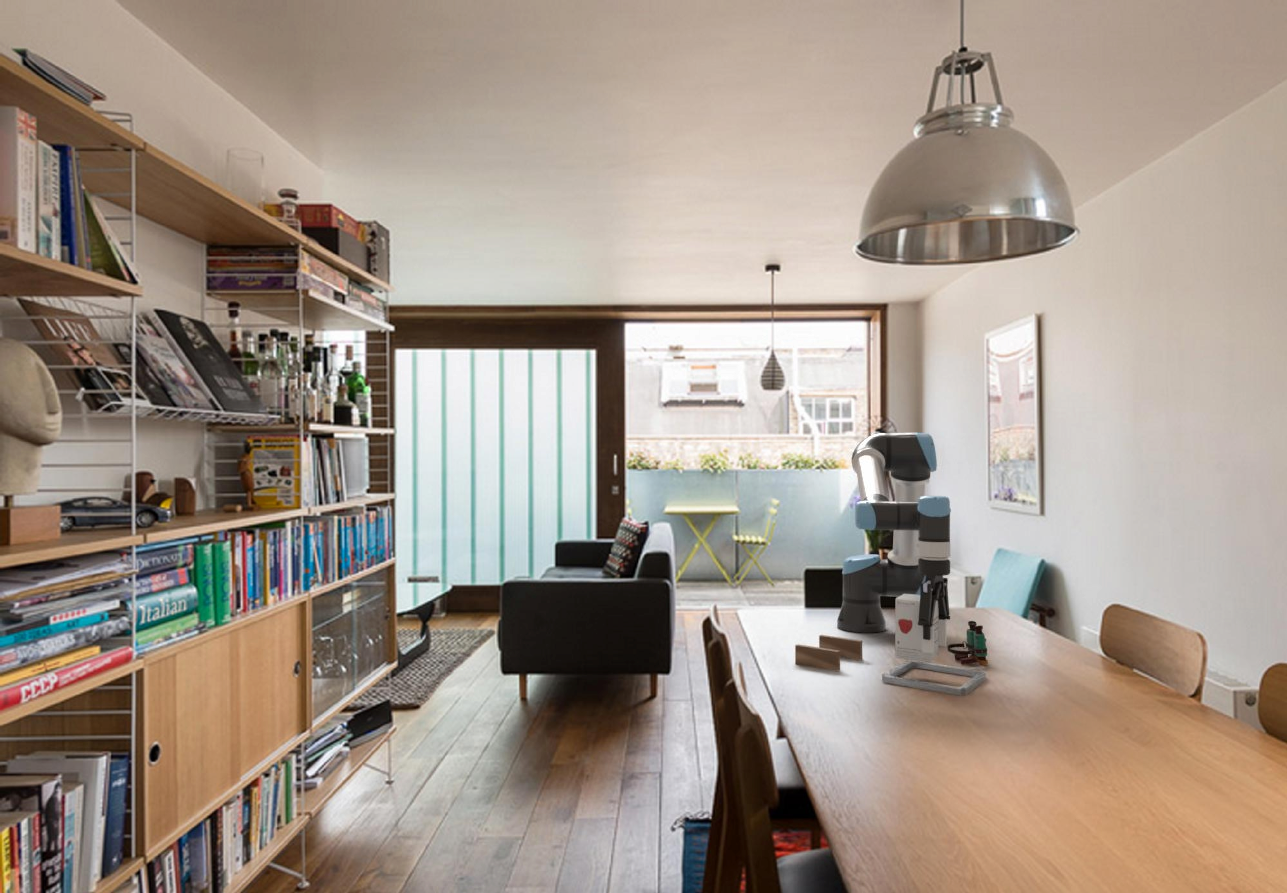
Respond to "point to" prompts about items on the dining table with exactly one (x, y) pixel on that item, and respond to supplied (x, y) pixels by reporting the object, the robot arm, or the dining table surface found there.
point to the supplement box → (912, 629)
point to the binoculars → (972, 646)
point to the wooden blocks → (828, 652)
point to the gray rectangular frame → (964, 689)
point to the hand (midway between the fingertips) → (934, 649)
